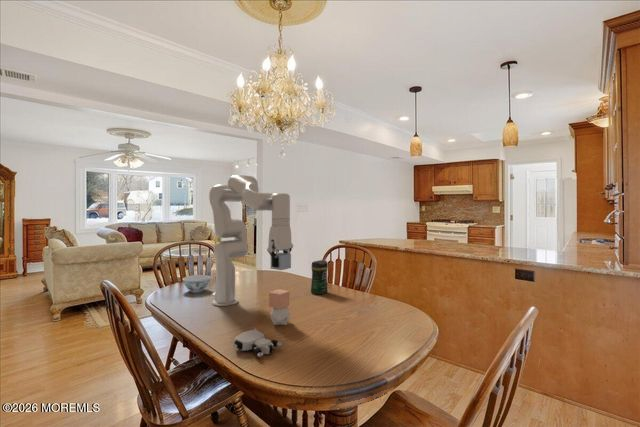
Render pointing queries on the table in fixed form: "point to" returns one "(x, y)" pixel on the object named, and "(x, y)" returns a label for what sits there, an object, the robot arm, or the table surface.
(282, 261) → the slate block
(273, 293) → the terracotta block
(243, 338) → the robot toy
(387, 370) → the table surface
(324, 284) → the coffee jar
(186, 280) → the chinaware
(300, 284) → the table surface
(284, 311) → the die
